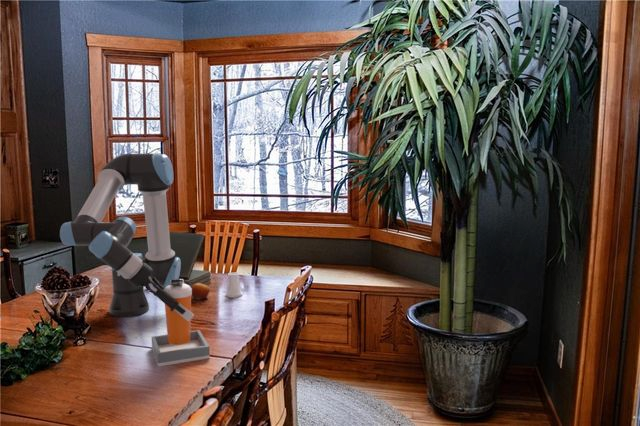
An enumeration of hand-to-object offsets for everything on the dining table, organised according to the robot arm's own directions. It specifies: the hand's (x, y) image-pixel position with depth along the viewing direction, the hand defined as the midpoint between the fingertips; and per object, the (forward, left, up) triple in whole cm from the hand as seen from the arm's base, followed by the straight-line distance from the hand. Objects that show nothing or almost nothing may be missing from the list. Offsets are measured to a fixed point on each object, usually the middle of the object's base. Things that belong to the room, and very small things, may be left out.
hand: (188, 313), depth 175 cm
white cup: (-58, +30, -13) cm, 66 cm away
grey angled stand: (-83, +10, -14) cm, 84 cm away
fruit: (-58, +15, -13) cm, 62 cm away
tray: (0, -3, -13) cm, 13 cm away
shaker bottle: (0, -3, -9) cm, 10 cm away
